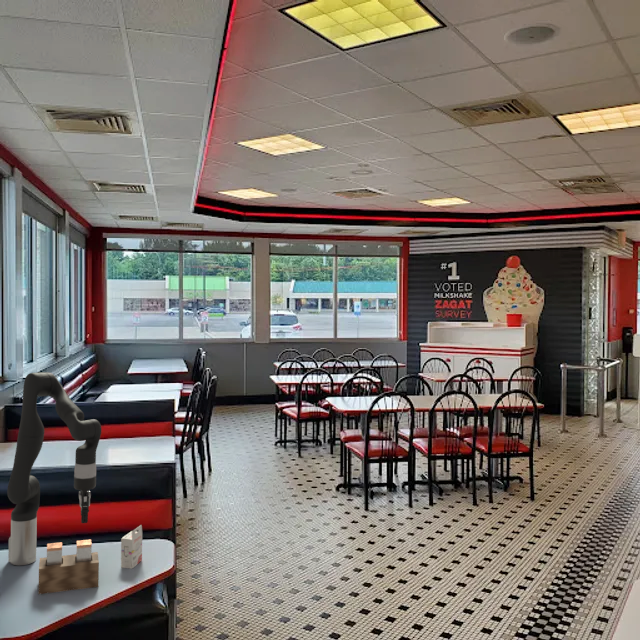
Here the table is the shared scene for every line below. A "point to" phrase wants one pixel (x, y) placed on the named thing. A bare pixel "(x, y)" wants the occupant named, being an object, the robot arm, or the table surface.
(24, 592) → the table surface
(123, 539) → the ink cartridge box
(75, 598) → the table surface
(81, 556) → the peg far
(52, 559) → the peg near
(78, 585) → the walnut block
